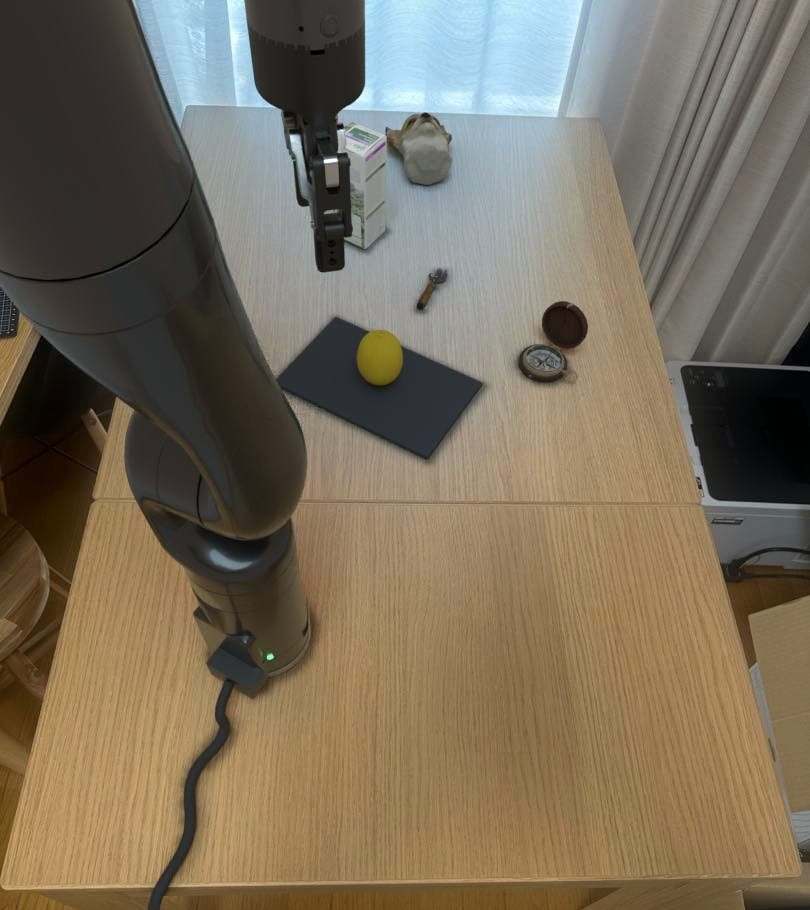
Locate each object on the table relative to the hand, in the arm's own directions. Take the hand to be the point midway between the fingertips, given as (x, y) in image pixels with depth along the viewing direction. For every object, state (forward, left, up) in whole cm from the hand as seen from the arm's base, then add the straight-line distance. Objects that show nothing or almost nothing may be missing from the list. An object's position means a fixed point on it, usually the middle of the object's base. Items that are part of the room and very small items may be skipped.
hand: (320, 235), depth 61 cm
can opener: (+32, +5, -30) cm, 44 cm away
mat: (+13, +2, -30) cm, 33 cm away
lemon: (+13, +2, -30) cm, 33 cm away
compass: (+28, -15, -30) cm, 44 cm away
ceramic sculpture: (+57, +21, -30) cm, 68 cm away
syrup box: (+37, +20, -30) cm, 52 cm away
